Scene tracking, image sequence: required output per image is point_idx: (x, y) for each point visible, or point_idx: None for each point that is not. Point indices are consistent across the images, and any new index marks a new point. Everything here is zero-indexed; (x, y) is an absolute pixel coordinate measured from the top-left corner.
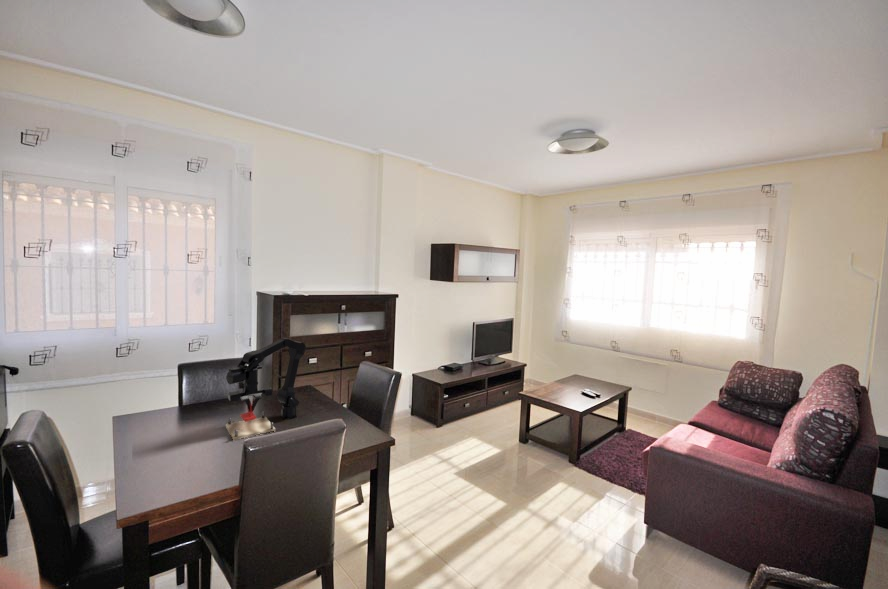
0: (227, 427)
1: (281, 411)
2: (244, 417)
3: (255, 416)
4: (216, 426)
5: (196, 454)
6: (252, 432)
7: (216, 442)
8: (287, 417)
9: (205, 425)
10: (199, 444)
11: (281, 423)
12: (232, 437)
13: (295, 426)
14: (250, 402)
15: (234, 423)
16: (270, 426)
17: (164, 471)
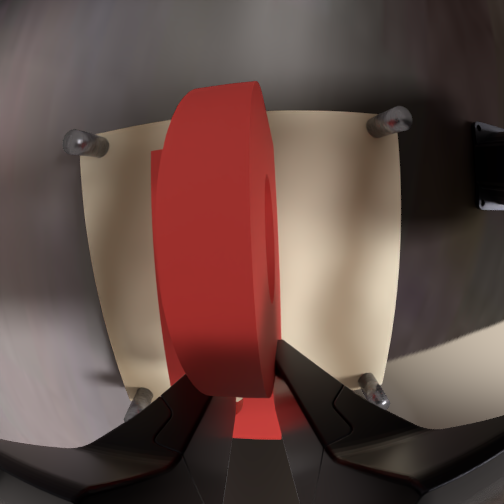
0: (85, 211)
1: (498, 154)
2: (175, 358)
3: (279, 437)
4: (50, 112)
5: (32, 411)
6: None
7: (63, 360)
8: (492, 197)
9: (17, 82)
10: (10, 336)
11: (447, 258)
12: (126, 381)
13: (471, 333)
14: (258, 396)
15: (133, 153)
16: (374, 342)
17: (8, 439)
